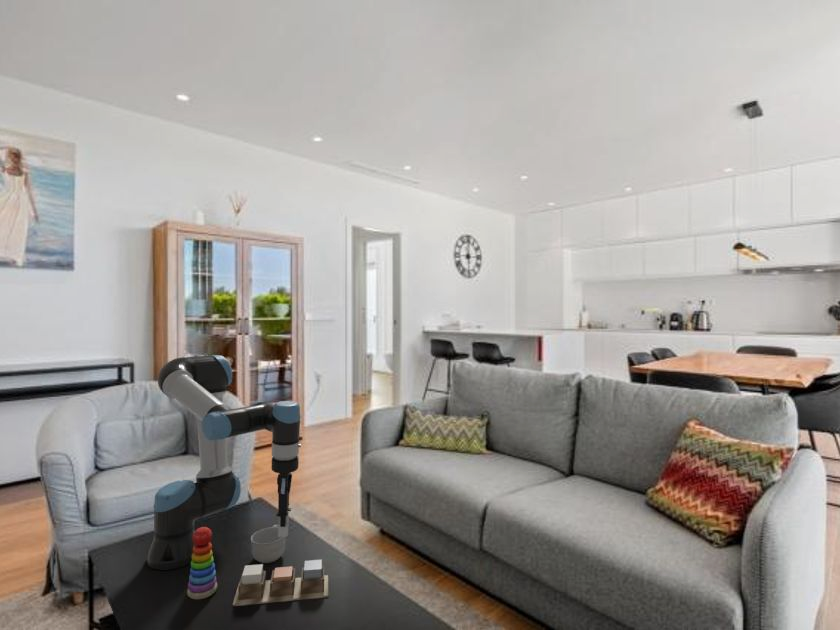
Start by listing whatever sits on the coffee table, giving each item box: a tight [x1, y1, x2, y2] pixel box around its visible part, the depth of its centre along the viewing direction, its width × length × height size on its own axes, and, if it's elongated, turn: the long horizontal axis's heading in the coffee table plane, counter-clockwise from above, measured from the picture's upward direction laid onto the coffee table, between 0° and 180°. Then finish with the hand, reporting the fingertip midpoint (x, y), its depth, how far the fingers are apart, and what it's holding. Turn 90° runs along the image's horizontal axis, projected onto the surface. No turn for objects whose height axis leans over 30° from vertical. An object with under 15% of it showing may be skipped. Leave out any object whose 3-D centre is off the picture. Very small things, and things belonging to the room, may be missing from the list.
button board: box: [232, 565, 329, 607], centre depth 138 cm, size 26×10×4 cm, turn 101°
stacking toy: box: [186, 526, 218, 600], centre depth 136 cm, size 8×8×19 cm
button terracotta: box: [273, 565, 294, 582], centre depth 138 cm, size 5×5×4 cm
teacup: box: [250, 524, 286, 564], centre depth 156 cm, size 14×11×8 cm
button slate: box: [303, 559, 323, 579], centre depth 140 cm, size 5×5×4 cm
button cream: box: [241, 563, 264, 585], centre depth 136 cm, size 5×5×4 cm
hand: (282, 535), depth 138 cm, fingers closed
